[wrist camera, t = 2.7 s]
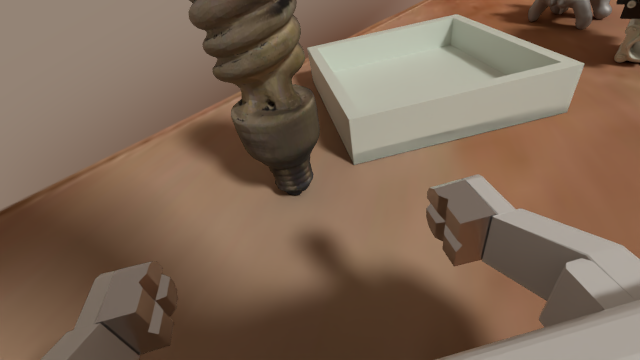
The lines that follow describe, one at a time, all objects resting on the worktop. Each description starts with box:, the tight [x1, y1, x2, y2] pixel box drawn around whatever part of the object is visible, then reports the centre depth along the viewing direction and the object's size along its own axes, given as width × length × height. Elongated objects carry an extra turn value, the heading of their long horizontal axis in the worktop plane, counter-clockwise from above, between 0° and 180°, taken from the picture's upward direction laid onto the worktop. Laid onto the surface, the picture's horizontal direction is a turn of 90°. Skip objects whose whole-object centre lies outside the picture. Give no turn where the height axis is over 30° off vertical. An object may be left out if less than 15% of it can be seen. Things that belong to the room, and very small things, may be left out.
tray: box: [307, 14, 585, 165], centre depth 32 cm, size 18×18×4 cm
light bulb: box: [189, 0, 320, 195], centre depth 20 cm, size 6×6×15 cm
